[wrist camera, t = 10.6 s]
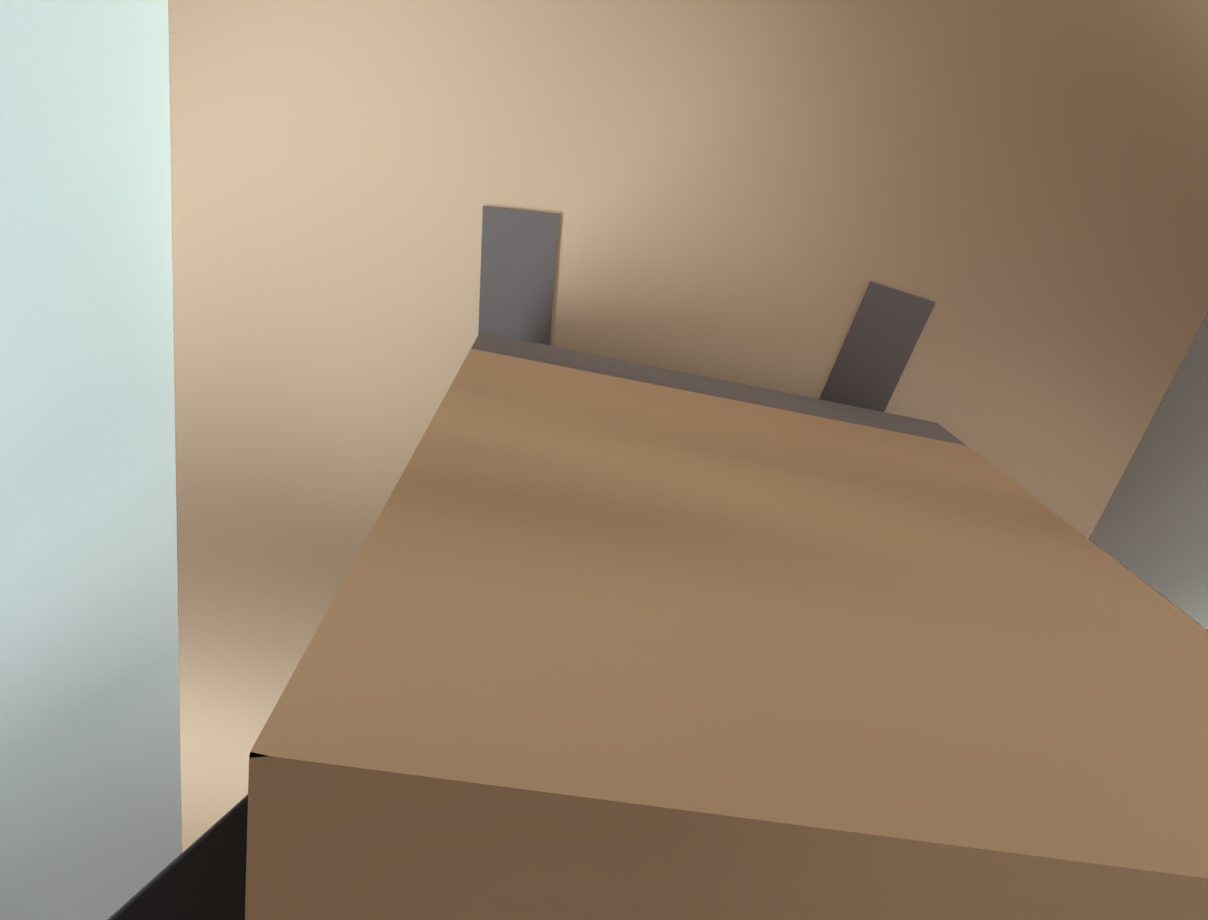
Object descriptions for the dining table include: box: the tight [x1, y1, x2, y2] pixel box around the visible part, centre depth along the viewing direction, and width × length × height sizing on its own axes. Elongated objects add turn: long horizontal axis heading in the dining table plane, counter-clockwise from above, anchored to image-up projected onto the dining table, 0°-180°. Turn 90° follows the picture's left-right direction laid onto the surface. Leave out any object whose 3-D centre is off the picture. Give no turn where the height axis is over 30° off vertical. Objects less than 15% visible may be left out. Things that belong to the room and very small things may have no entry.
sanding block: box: [245, 332, 1208, 920], centre depth 6 cm, size 7×4×5 cm, turn 168°
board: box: [168, 0, 1208, 853], centre depth 9 cm, size 18×10×2 cm, turn 168°
